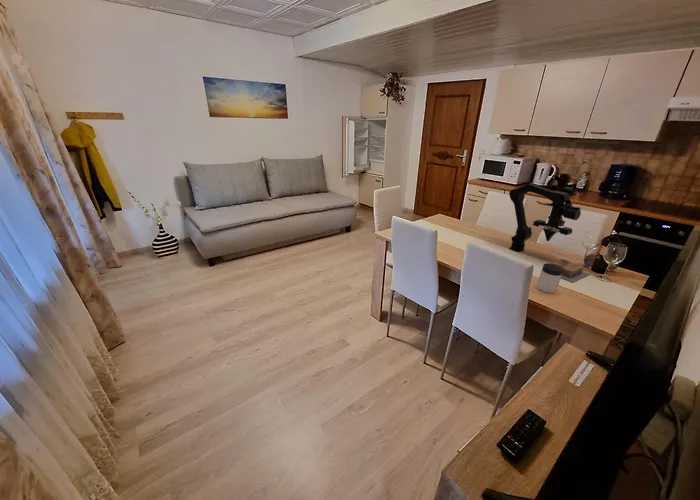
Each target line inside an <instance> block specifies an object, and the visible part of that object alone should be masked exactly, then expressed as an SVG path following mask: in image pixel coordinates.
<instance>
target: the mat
mask: <svg viewBox="0 0 700 500" xmlns="http://www.w3.org/2000/svg"><path fill="white" fill-rule="evenodd" d="M588 276H591V274H590V273H587V272H584V270H583V271H582V273H581V274H579V275H577V276H574V277H572V278H568V277H565V276H563V275H562V276H561V279H562V280H565V281H567V282H569V283H572V284H573V283H576V282H577V281H579V280H581V279H582V280H583V279H585V278H586V277H588Z"/></svg>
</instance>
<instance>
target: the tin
mask: <svg viewBox="0 0 700 500" xmlns="http://www.w3.org/2000/svg"><path fill="white" fill-rule="evenodd" d="M597 254H598V253H589V254H587V255H585V257H584V259H583V263H584V265H585V267H587V268H588V267H592V265H593V262H594V260H595V258H596V256H597ZM619 265H620V264H619V262H618V264H617V265H611V266H610V268H609V271H608V272H612V271H615V270H616V269H618V267H619Z"/></svg>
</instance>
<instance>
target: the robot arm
mask: <svg viewBox="0 0 700 500" xmlns="http://www.w3.org/2000/svg"><path fill="white" fill-rule="evenodd" d="M529 192H530V193H534V194H536V195H538V196H539V195H540V196H542V197H545V198H547V199H549V200H550V201H551V203H548V207H551V210H550V213H549V215H548V216H547V219H548V220H547V221H545V220H542V219H537V220H534V221H533V222H532V226H534V227H539V226H541V227H543V228H542V229H541V230H542V231H543V232H544V234H545V240H546V242H549V241H550V240H551V239H552V238H553V237H554V236H555V235H556V234H558V233H559V234H561V235H565V236H569V235H572V233H573V228H571V227H567V226H564V225H565V223H566V221H565V220H564V218H565V219H569V220H572V221H577V220H579V219H580V217H581V216H582V215H581V212H582V211H581V207H579V206H573V204H572V201H571V199H570V197H571V196H570V194H569V193H568V192H564V191H557V190H556V191H555V190H552V189H549V188H546V187H542V186H540V185H537V184H535V183H526V184H525V185H523V186H520V187H517V188H512V189H511V190H510V191H509V192H508V196H509V197H510V200H511V202H512V204H513V205H514V206H513V207H514V211H515V217H516V223H517V227H516V231H515V234H516V235H514V236H511V238H510V239H511V241H512V242H511V244H510V245H511V246H510V247H509V250H512V251H514V252H516V253H521V252H523V251H525V246H526V244H525V243H526V241H528V240H529V239H530V238H531V237H532V234H533V232H532V227H531V226H530V227H529V226H528V224H527V219H526V213H525V206H524V200H525V198H526V197H525V195H526V194H528V193H529Z"/></svg>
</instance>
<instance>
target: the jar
mask: <svg viewBox="0 0 700 500" xmlns="http://www.w3.org/2000/svg"><path fill="white" fill-rule="evenodd" d="M551 263H552V262H551ZM551 263H550V262H549V263H547V262H546V263H543V265H542V268H541V270H540V272H539V276H538V279H537V282H536V285H535V287H536V288H537V289H539V290H540V291H542V292H543V293H544V292H545V293H549V294H554V293H555V292H556V291H557V289H558V287H559V285H560V281H561V279H562V278H561V276H562V273H563V268H562V267H560V266H558V265H556V264H551Z"/></svg>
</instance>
